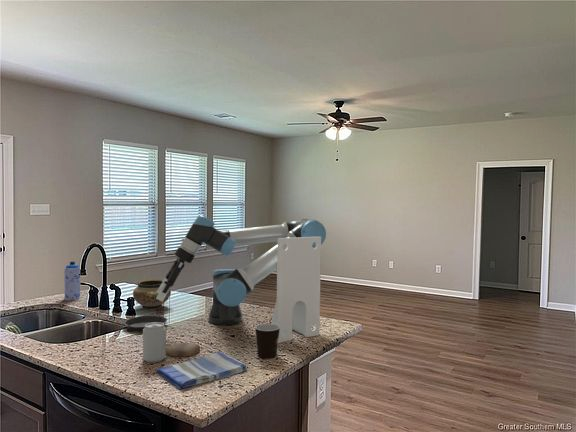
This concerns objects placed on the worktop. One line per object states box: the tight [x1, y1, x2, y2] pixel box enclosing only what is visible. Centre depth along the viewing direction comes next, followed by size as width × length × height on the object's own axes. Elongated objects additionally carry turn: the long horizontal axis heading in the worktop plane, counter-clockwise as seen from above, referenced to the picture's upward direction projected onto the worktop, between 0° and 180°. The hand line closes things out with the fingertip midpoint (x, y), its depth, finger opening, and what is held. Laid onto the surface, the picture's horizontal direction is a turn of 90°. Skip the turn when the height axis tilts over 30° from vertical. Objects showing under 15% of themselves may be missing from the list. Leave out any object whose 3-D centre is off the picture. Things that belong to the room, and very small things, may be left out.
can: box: [142, 322, 167, 364], centre depth 142 cm, size 8×8×12 cm
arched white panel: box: [270, 237, 322, 344], centre depth 172 cm, size 20×14×40 cm
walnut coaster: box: [166, 342, 201, 358], centre depth 151 cm, size 12×12×1 cm
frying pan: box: [123, 315, 168, 333], centre depth 173 cm, size 18×32×4 cm, turn 23°
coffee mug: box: [254, 323, 280, 360], centre depth 149 cm, size 12×9×10 cm
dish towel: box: [155, 351, 248, 391], centre depth 133 cm, size 17×24×3 cm
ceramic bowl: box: [132, 279, 172, 311], centre depth 211 cm, size 24×18×15 cm
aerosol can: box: [64, 261, 82, 302], centre depth 227 cm, size 8×8×20 cm
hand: (159, 296), depth 169 cm, fingers open, 13 cm apart
